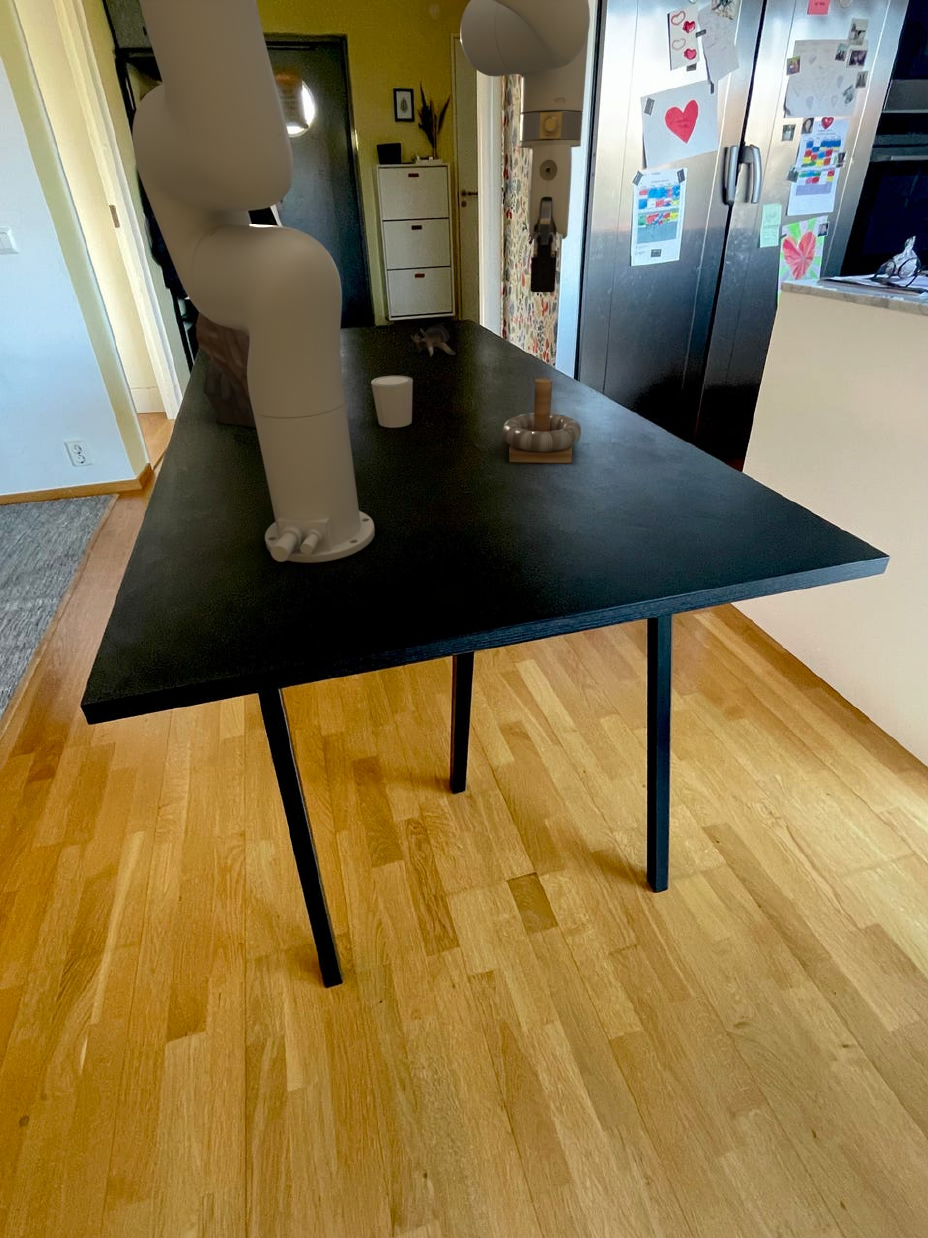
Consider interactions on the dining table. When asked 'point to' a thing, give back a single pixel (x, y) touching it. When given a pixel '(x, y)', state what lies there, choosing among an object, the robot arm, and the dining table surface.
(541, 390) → the stand
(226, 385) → the owl
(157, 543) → the dining table surface
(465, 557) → the dining table surface
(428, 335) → the grey toy animal
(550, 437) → the striped ring
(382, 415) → the white cup
